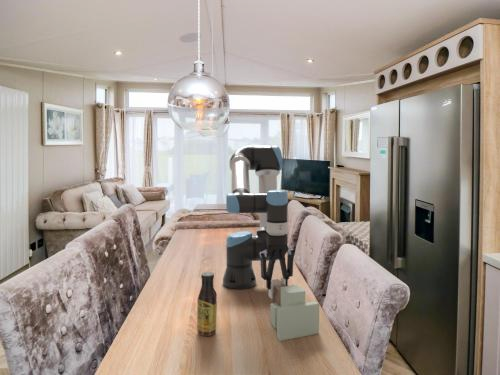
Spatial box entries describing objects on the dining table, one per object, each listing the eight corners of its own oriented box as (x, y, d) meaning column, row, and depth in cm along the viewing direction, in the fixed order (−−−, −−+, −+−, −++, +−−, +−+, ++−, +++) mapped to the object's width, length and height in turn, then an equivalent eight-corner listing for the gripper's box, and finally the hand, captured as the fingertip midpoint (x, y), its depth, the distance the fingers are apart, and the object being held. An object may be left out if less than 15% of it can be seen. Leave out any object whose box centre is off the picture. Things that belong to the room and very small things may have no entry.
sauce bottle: (193, 333, 115) (192, 273, 114) (206, 326, 120) (206, 269, 119) (207, 339, 111) (206, 278, 110) (221, 331, 116) (220, 272, 115)
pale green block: (265, 324, 121) (265, 284, 120) (301, 317, 126) (301, 279, 125) (279, 340, 110) (279, 297, 109) (318, 333, 115) (319, 291, 114)
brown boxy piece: (267, 295, 131) (268, 279, 130) (277, 294, 133) (278, 277, 132) (282, 310, 120) (282, 292, 119) (292, 309, 122) (293, 291, 121)
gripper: (258, 237, 120) (258, 303, 122) (303, 233, 126) (302, 297, 128) (251, 233, 127) (251, 296, 129) (293, 229, 133) (293, 290, 135)
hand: (277, 296), depth 129 cm, fingers closed on brown boxy piece, 4 cm apart
